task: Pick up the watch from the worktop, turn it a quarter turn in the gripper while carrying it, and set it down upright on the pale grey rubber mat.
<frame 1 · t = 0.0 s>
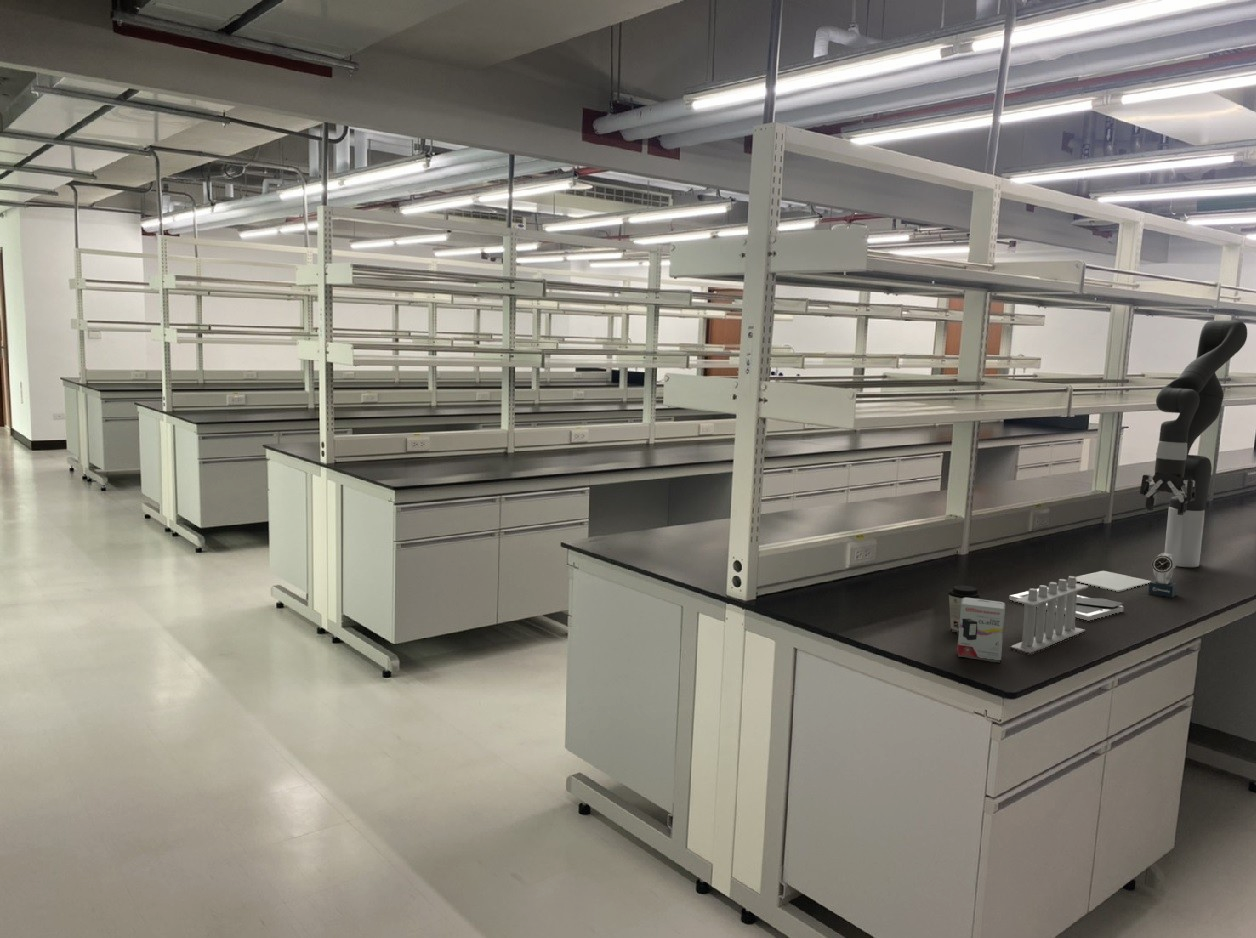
hand: (1164, 512, 263), 17 cm above the table, tool pointing down, fingers open, 8 cm apart
coffee cup: (961, 631, 205), on the table
test tube rack: (1048, 641, 199), on the table
ink box: (978, 658, 188), on the table
watch: (1162, 595, 238), on the table
mat: (1110, 581, 251), on the table
picture frame: (1064, 609, 226), on the table
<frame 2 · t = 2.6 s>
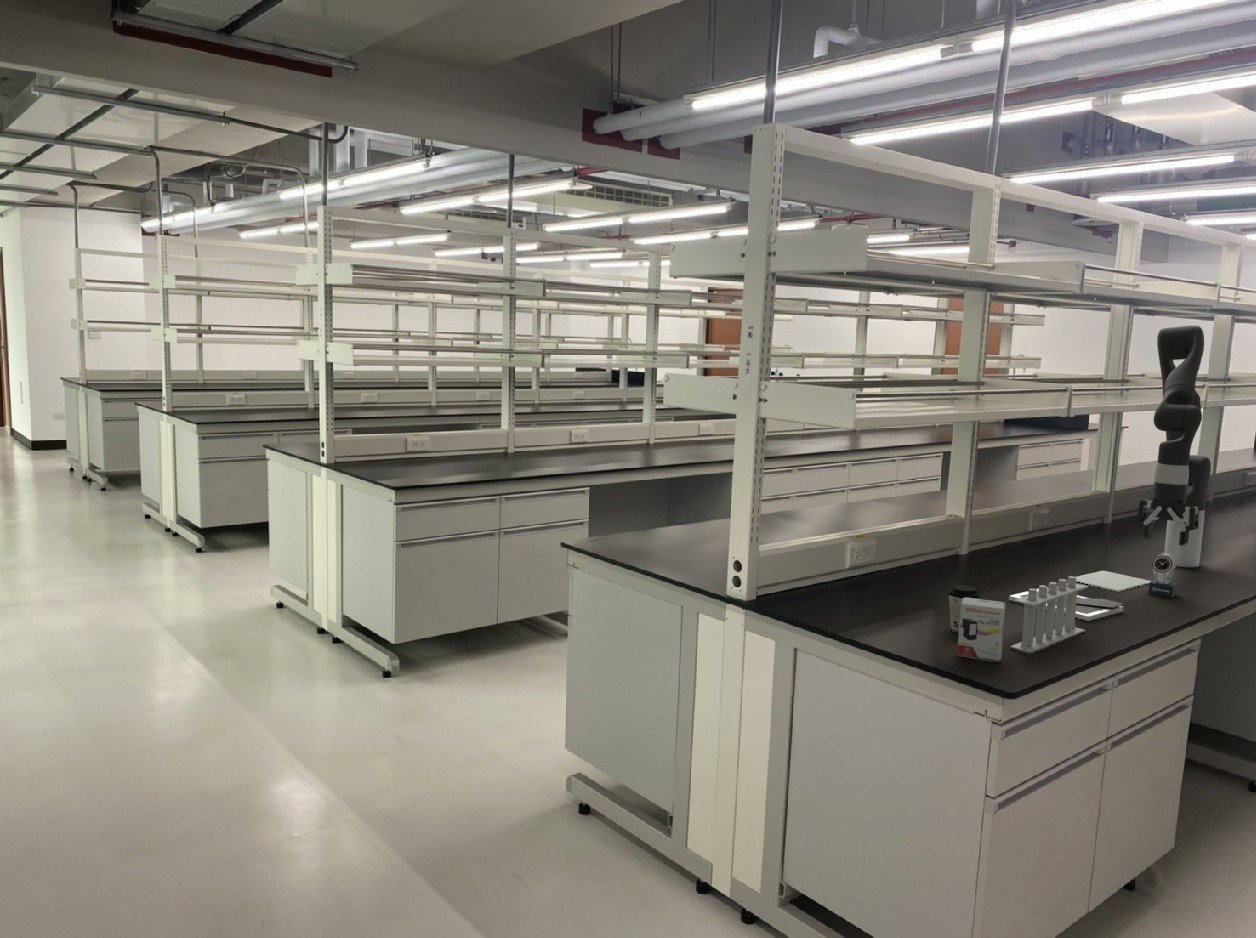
hand: (1165, 542, 237), 14 cm above the table, tool pointing down, fingers open, 8 cm apart
nothing on the table moved.
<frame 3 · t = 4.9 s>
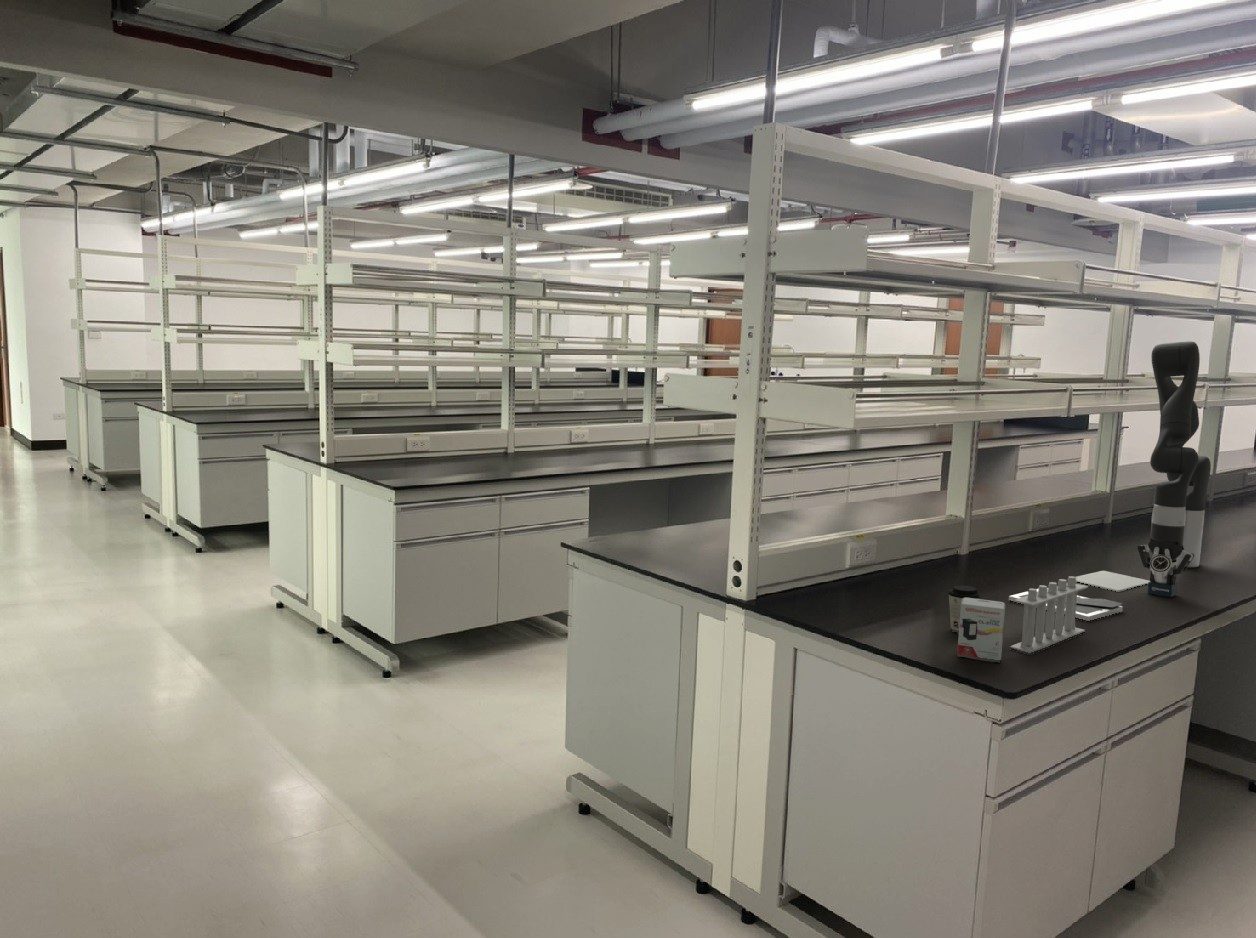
hand: (1162, 586, 238), 2 cm above the table, tool pointing down, fingers closed on watch, 3 cm apart
watch: (1161, 594, 238), on the table, touching gripper
everything else where it was.
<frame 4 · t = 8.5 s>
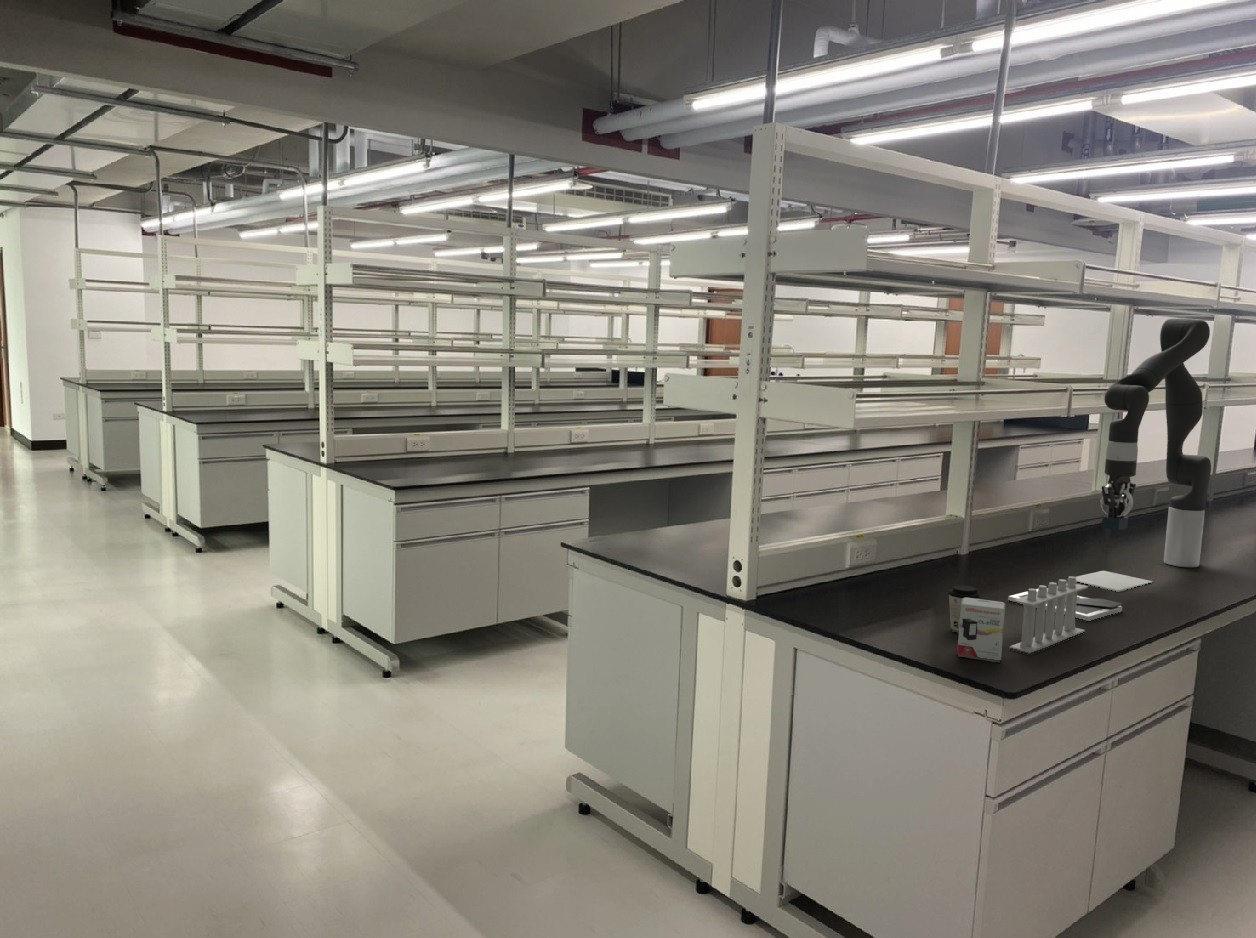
hand: (1115, 519, 248), 18 cm above the table, tool pointing down, fingers closed on watch, 3 cm apart
watch: (1114, 528, 249), point 15 cm above the table, touching gripper
everything else where it was.
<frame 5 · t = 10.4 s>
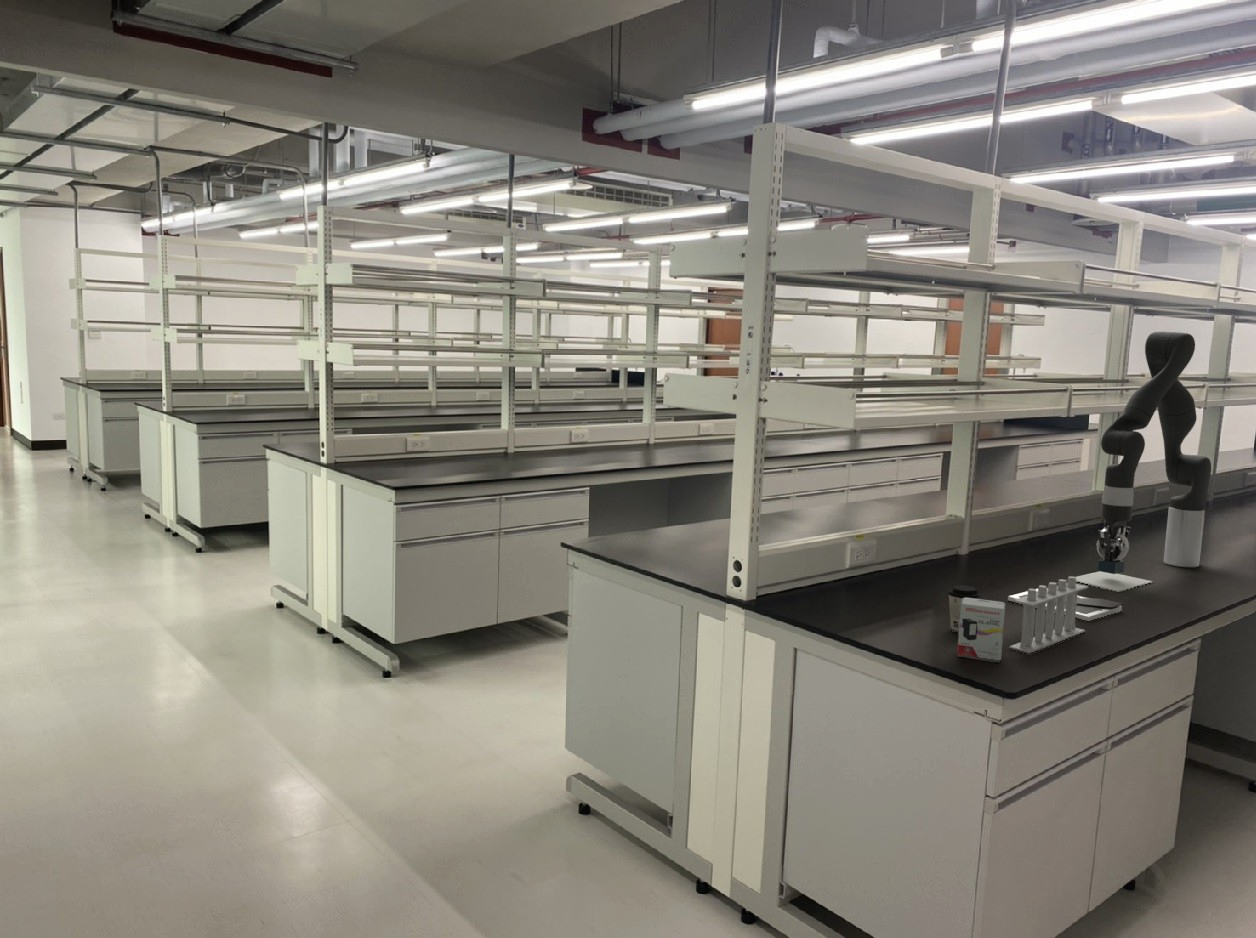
hand: (1111, 563, 250), 5 cm above the table, tool pointing down, fingers closed on watch, 3 cm apart
watch: (1110, 572, 250), point 3 cm above the table, touching gripper
everything else where it was.
when the fingers open (4 cm above the table, at t = 11.6 s): watch moves 3 cm, resting on mat.
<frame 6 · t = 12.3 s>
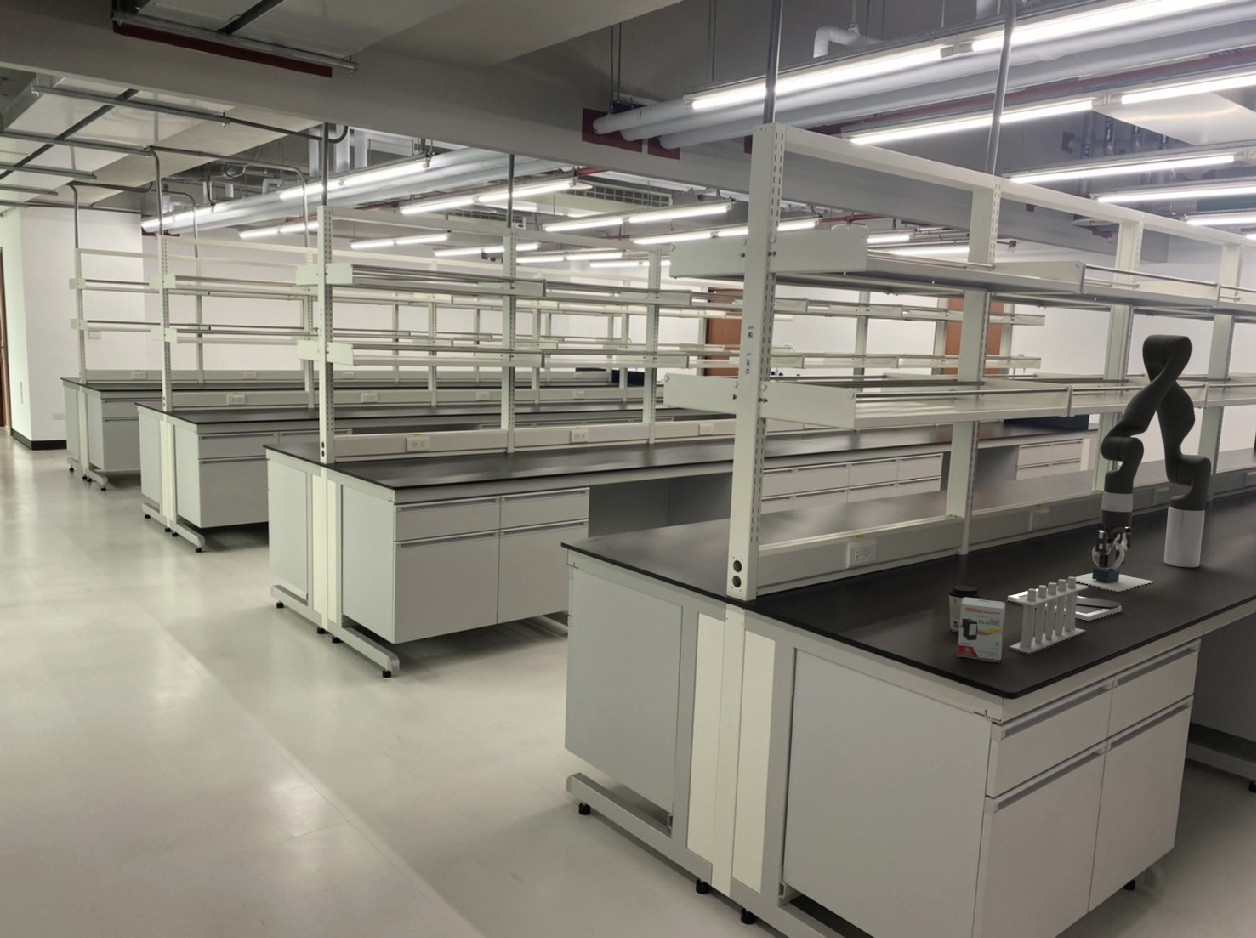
hand: (1111, 565, 250), 5 cm above the table, tool pointing down, fingers open, 8 cm apart
watch: (1104, 580, 249), point 1 cm above the table, touching gripper, mat
everything else where it was.
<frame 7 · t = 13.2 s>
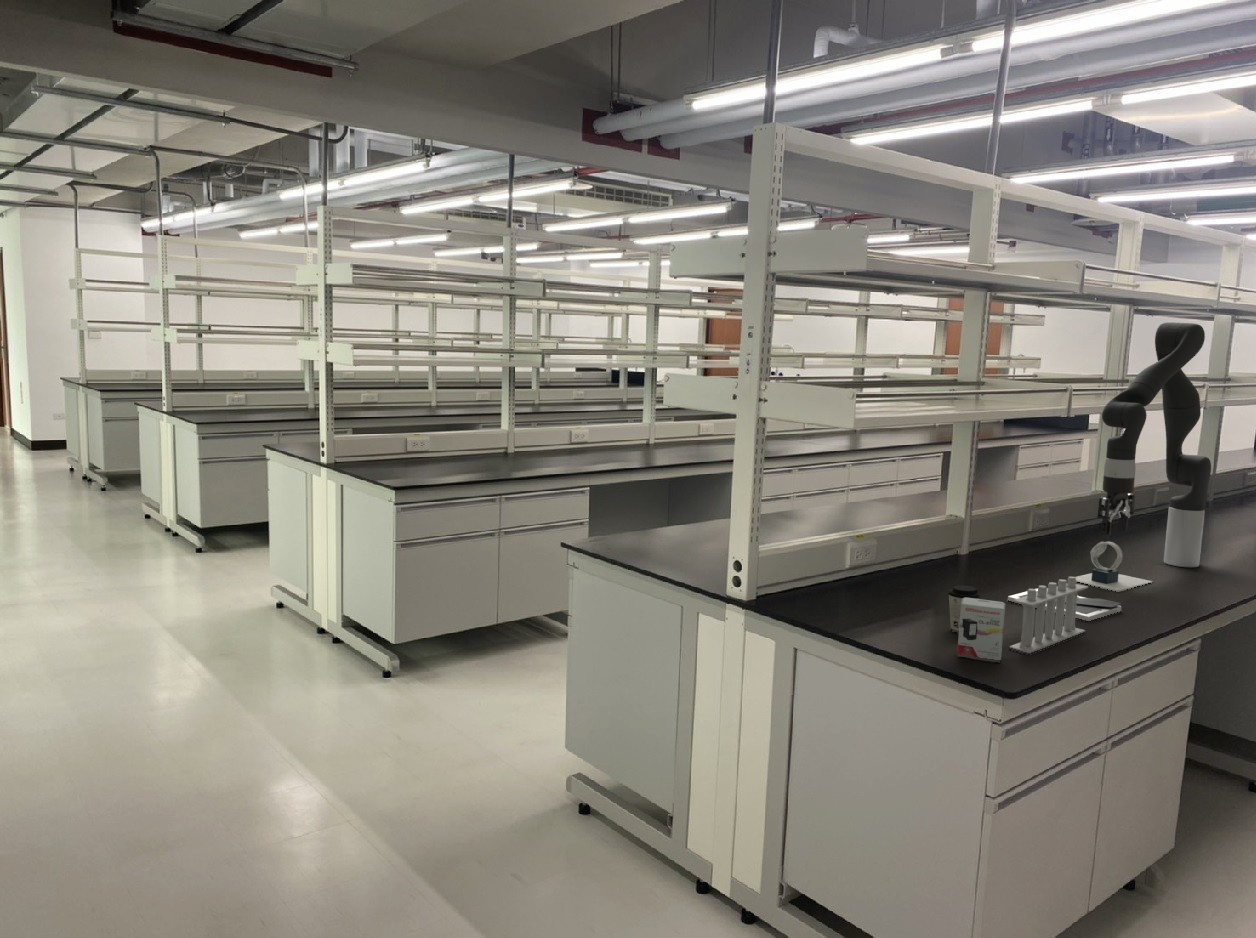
hand: (1114, 532, 249), 14 cm above the table, tool pointing down, fingers open, 8 cm apart
watch: (1104, 581, 249), resting on mat
everything else where it was.
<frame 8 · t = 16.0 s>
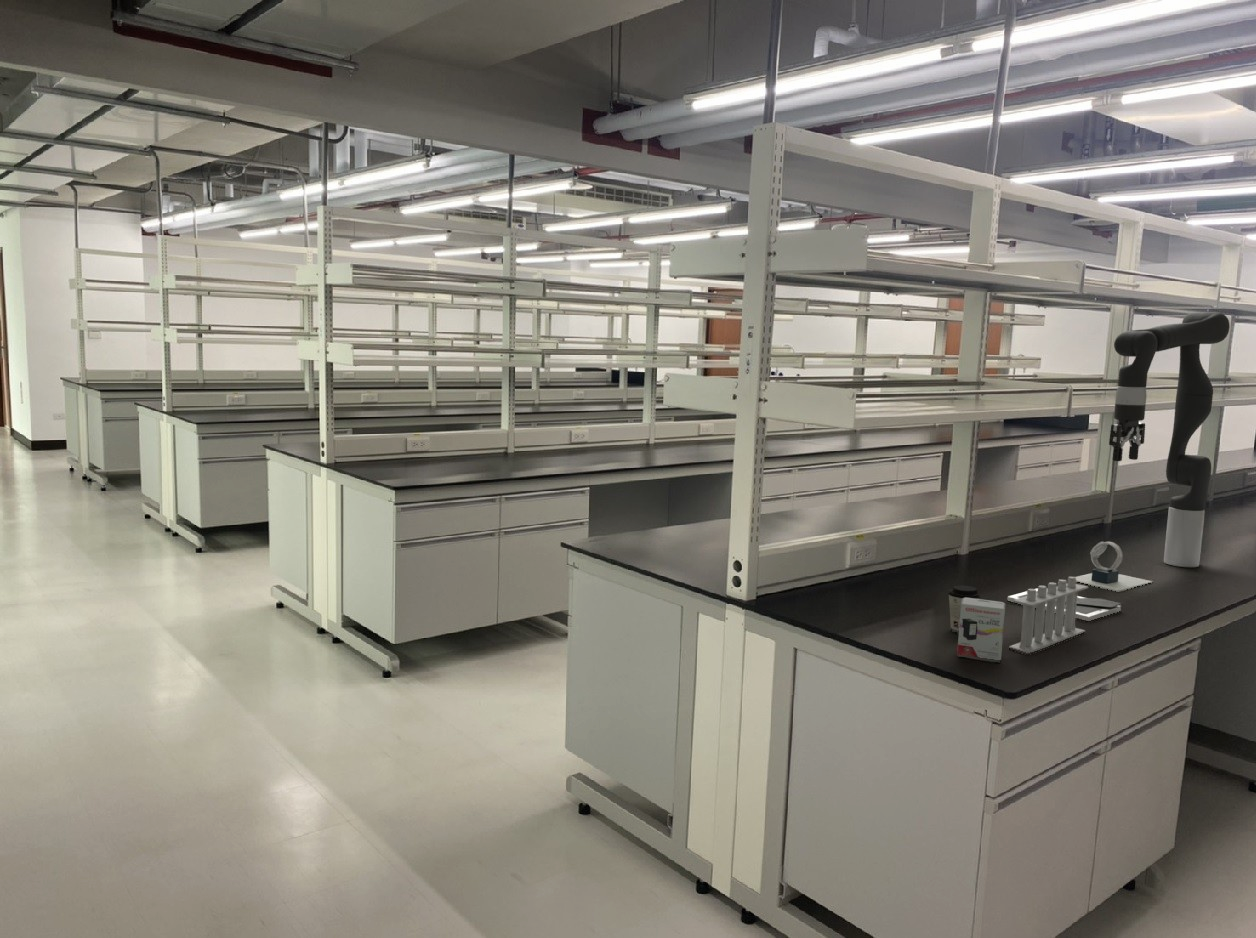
hand: (1125, 460, 255), 33 cm above the table, tool pointing down, fingers open, 8 cm apart
nothing on the table moved.
at the end: watch inside the target area on the mat (2.5 cm from its centre), point 0.3 cm above the mat's base; watch tilted 0°; watch touching mat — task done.
